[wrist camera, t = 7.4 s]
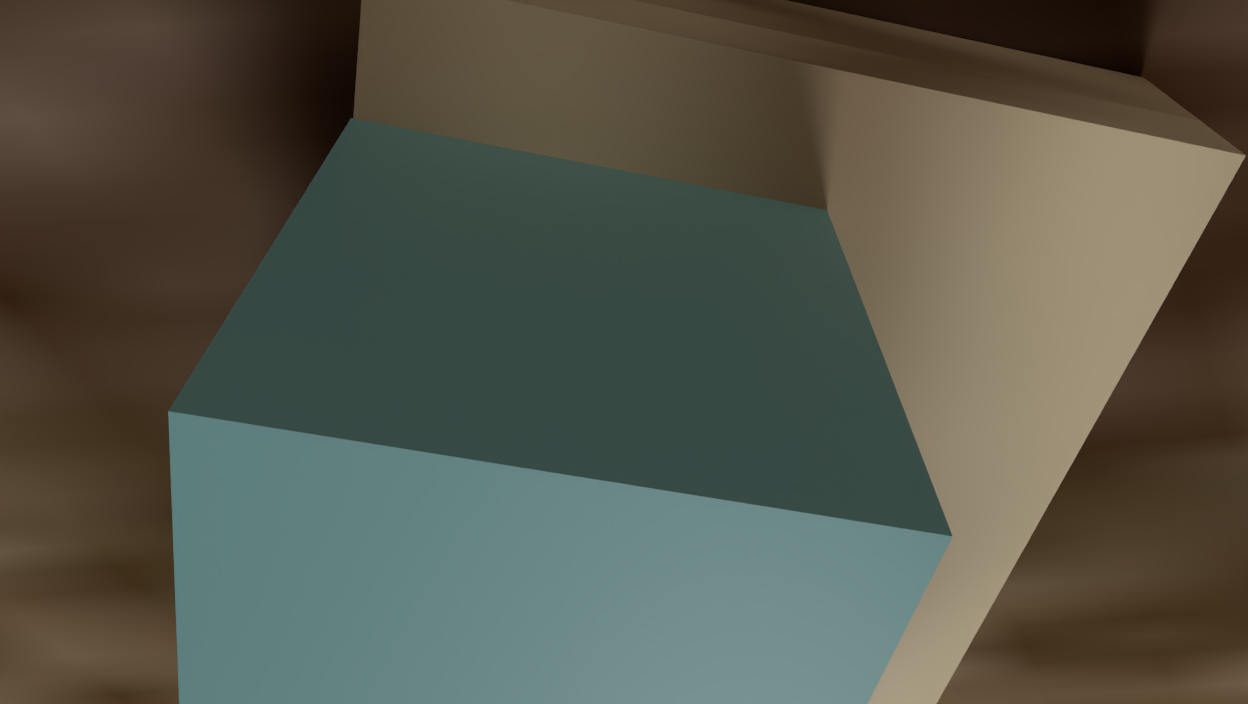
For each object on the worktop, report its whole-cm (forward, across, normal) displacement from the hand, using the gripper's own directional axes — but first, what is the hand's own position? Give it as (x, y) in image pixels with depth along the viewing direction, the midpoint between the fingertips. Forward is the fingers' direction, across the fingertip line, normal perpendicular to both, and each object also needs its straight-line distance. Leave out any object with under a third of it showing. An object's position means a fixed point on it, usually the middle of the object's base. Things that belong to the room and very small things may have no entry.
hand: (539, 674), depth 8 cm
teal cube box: (+4, 0, 0) cm, 5 cm away
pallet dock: (+7, -2, +4) cm, 8 cm away
